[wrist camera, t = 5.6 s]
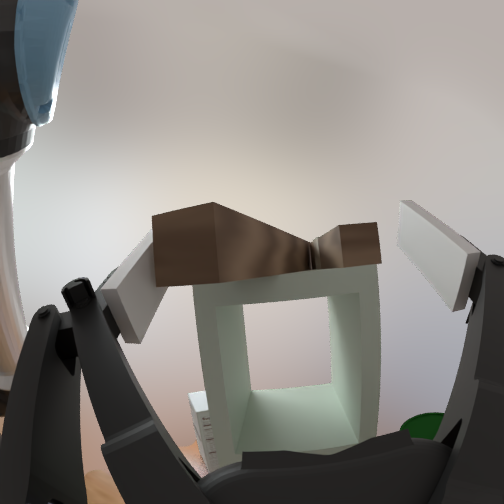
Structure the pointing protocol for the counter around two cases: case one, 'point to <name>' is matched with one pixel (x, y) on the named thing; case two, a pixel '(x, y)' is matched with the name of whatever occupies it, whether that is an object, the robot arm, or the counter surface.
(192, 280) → the plain slat
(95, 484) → the counter surface
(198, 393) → the supplement box
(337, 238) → the banded slat
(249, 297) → the shelf unit
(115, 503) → the counter surface
